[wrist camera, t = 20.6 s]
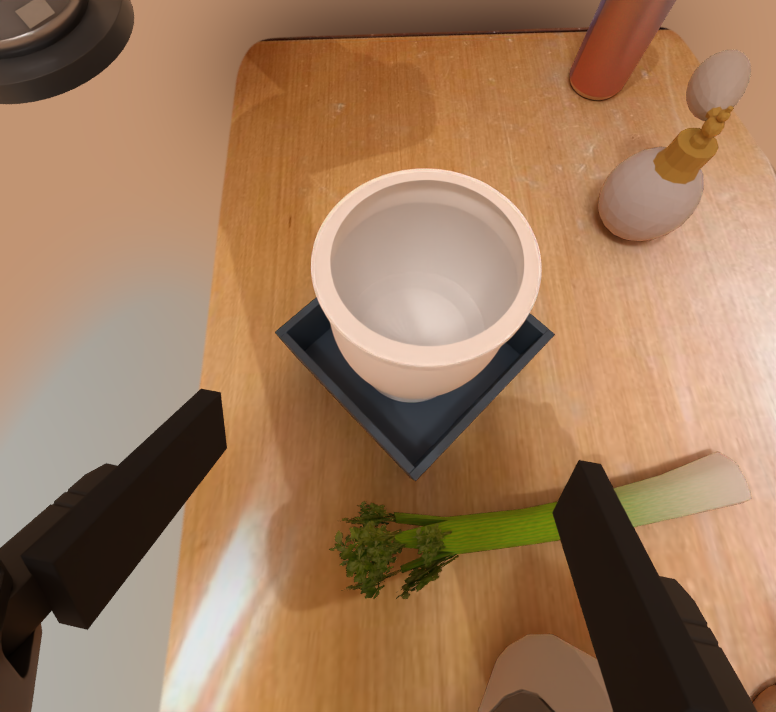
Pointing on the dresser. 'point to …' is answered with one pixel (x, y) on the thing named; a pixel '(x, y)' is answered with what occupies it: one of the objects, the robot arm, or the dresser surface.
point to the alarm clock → (545, 679)
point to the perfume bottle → (675, 158)
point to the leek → (524, 523)
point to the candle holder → (766, 700)
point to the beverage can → (615, 45)
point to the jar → (424, 279)
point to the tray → (402, 419)
